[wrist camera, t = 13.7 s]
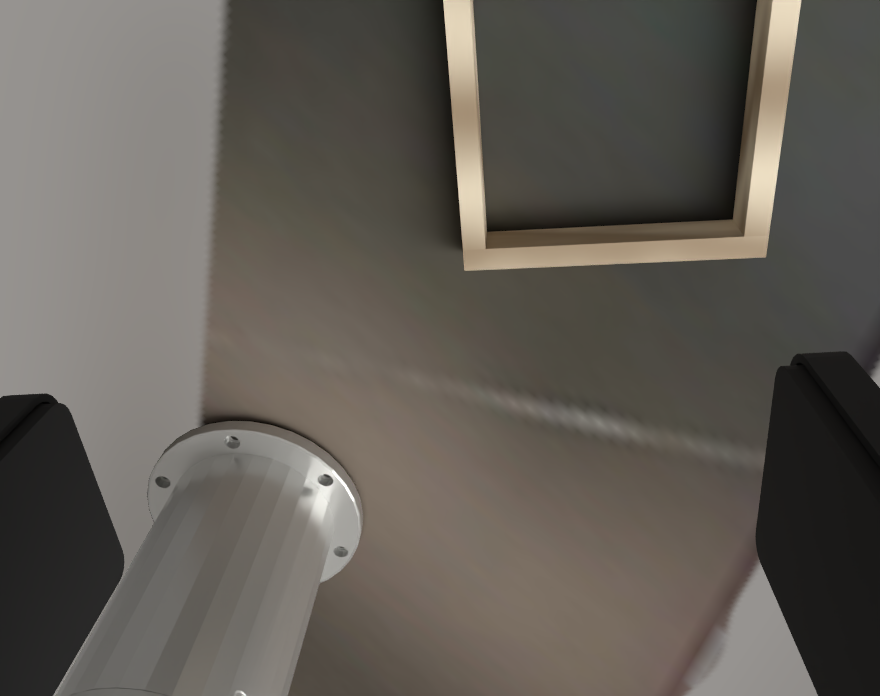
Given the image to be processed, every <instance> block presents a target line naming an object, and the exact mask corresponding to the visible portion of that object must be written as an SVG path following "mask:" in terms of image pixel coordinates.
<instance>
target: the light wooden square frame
mask: <svg viewBox="0 0 880 696" xmlns="http://www.w3.org/2000/svg"><path fill="white" fill-rule="evenodd" d="M443 4H444V16H445V29H446V42H447V54H448V67H449V80H450V92H451V105H452V117H453V130H454V143H455V155H456V168H457V181H458V193H459V206H460V219H461V231H462V244H463V257H464V269H465V271H470V270H492V269H514V268H537V267H559V266H581V265H603V264H626V263H648V262H670V261H693V260H715V259H737V258H760V257H766V252H767V245H768V238H769V230H770V223H771V216H772V209H773V201H774V194H775V187H776V180H777V172H778V165H779V158H780V151H781V143H782V136H783V129H784V122H785V114H786V107H787V100H788V93H789V85H790V78H791V71H792V63H793V56H794V49H795V42H796V34H797V27H798V20H799V13H800V5H801V0H757V6H756V15H755V24H754V33H753V42H752V51H751V60H750V69H749V78H748V87H747V96H746V105H745V114H744V123H743V132H742V141H741V150H740V159H739V168H738V177H737V186H736V195H735V204H734V213H733V219H732V220H712V221H692V222H673V223H653V224H633V225H613V226H594V227H574V228H554V229H534V230H515V231H495V232H487V224H486V208H485V191H484V175H483V159H482V142H481V126H480V110H479V93H478V77H477V60H476V44H475V28H474V11H473V0H443Z"/></svg>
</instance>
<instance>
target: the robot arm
mask: <svg viewBox="0 0 880 696" xmlns="http://www.w3.org/2000/svg"><path fill="white" fill-rule="evenodd" d="M147 497H148V505H149V511H150V513H151V516H152V519H153V521H154V525H153V526H152V528H151V530H150V531H149V533H148V535H147V537H146V539H145V540H144V542H143V544H142V545H141V547H140V549H139V551H138V552H137V554H136V556H135V558H134V559H133V561H132V563H131V565H130V566H129V568H128V570H127V572H126V573H125V575H124V577H123V579H122V580H121V582H120V584H119V585H118V587H117V589H116V591H115V593H114V594H113V596H112V598H111V600H110V601H109V603H108V605H107V607H106V608H105V610H104V612H103V614H102V615H101V617H100V619H99V620H98V622H97V624H96V626H95V627H94V629H93V631H92V633H91V635H90V636H89V638H88V640H87V641H86V643H85V645H84V647H83V648H82V650H81V652H80V654H79V655H78V657H77V659H76V660H75V663H74V664H73V666H72V667H71V669H70V671H69V673H68V675H67V676H66V678H65V680H64V681H63V683H62V685H61V687H60V688H59V690H58V692H57V694H56V695H55V696H288V693H289V689H290V686H291V682H292V679H293V675H294V671H295V668H296V664H297V661H298V657H299V654H300V650H301V647H302V643H303V640H304V636H305V633H306V629H307V626H308V622H309V619H310V615H311V612H312V608H313V605H314V601H315V598H316V594H317V590H318V587H319V583H321V582H324V581H326V580H328V579H330V578H331V577H333V576H334V575H335V574H337V573H338V572H339V571H341V570H342V569H343V568H344V567H345V565H346V564H347V563H348V562H349V561H350V560H351V558H352V556H353V554H354V552H355V550H356V548H357V546H358V543H359V539H360V535H361V531H362V524H363V510H362V505H361V499H360V496H359V494H358V492H357V490H356V487H355V485H354V483H353V481H352V480H351V478H350V477H349V476H348V474H347V473H346V471H345V470H344V468H343V467H342V466H341V465H340V464H339V463H338V462H337V461H336V460H335V459H334V458H333V457H332V456H331V455H330V454H329V453H327V452H326V451H324V450H323V449H321V448H320V447H319V446H317V445H316V444H314V443H313V442H312V441H310V440H308V439H306V438H304V437H302V436H300V435H298V434H296V433H294V432H291V431H288V430H285V429H282V428H279V427H276V426H273V425H268V424H263V423H257V422H251V421H225V422H218V423H212V424H207V425H204V426H201V427H199V428H196V429H193V430H190V431H189V432H187V433H185V434H184V435H182V436H180V437H179V438H177V439H176V440H175V441H174V442H173V443H172V444H171V445H170V446H169V447H168V448H167V449H166V450H165V451H164V453H163V454H162V456H161V457H160V459H159V460H158V462H157V464H156V465H155V467H154V469H153V471H152V473H151V475H150V478H149V484H148V492H147ZM756 546H757V552H758V557H759V560H760V563H761V565H762V567H763V570H764V572H765V574H766V576H767V579H768V581H769V583H770V586H771V588H772V590H773V593H774V595H775V597H776V599H777V601H778V604H779V606H780V608H781V611H782V613H783V616H784V618H785V620H786V623H787V625H788V627H789V629H790V632H791V634H792V636H793V639H794V641H795V643H796V646H797V648H798V650H799V652H800V654H801V657H802V659H803V662H804V664H805V666H806V669H807V671H808V673H809V676H810V678H811V680H812V682H813V685H814V687H815V689H816V692H817V694H818V696H880V388H879V387H878V386H877V384H876V383H875V382H874V381H873V380H872V379H871V377H870V376H869V375H868V374H867V373H866V372H865V371H864V369H863V368H862V367H861V366H860V365H859V364H858V363H857V361H856V360H855V359H854V358H853V357H852V356H851V355H850V354H849V353H847V352H824V353H805V354H796V355H795V356H794V357H793V359H792V361H791V364H790V366H780V367H779V368H778V370H777V372H776V377H775V383H774V391H773V399H772V407H771V415H770V423H769V431H768V439H767V447H766V455H765V463H764V471H763V479H762V487H761V495H760V503H759V511H758V519H757V527H756ZM123 569H124V554H123V550H122V548H121V545H120V542H119V540H118V537H117V534H116V532H115V529H114V527H113V524H112V521H111V519H110V516H109V513H108V510H107V508H106V505H105V503H104V500H103V497H102V495H101V492H100V489H99V487H98V484H97V481H96V479H95V476H94V473H93V471H92V468H91V465H90V463H89V460H88V457H87V455H86V452H85V449H84V447H83V444H82V441H81V439H80V436H79V433H78V431H77V428H76V426H75V423H74V420H73V418H72V415H71V413H70V411H69V409H68V408H67V407H66V406H65V405H64V404H61V403H58V402H57V400H56V399H55V398H54V397H53V396H51V395H49V394H28V395H10V396H3V397H1V398H0V696H53V694H54V693H55V691H56V689H57V687H58V686H59V684H60V682H61V681H62V679H63V677H64V676H65V674H66V672H67V670H68V669H69V667H70V665H71V664H72V662H73V660H74V658H75V657H76V655H77V653H78V651H79V650H80V648H81V646H82V645H83V643H84V641H85V639H86V638H87V636H88V634H89V633H90V631H91V629H92V627H93V626H94V624H95V622H96V621H97V619H98V617H99V615H100V614H101V612H102V610H103V609H104V607H105V605H106V603H107V602H108V600H109V598H110V597H111V595H112V593H113V591H114V590H115V588H116V586H117V584H118V583H119V581H120V579H121V577H122V573H123Z"/></svg>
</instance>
